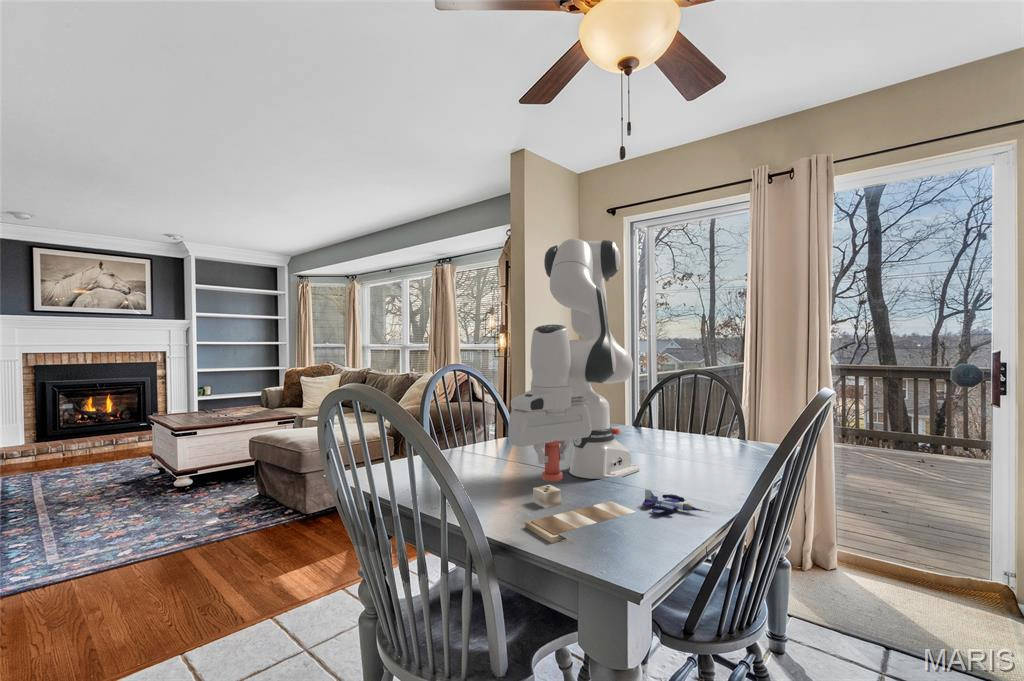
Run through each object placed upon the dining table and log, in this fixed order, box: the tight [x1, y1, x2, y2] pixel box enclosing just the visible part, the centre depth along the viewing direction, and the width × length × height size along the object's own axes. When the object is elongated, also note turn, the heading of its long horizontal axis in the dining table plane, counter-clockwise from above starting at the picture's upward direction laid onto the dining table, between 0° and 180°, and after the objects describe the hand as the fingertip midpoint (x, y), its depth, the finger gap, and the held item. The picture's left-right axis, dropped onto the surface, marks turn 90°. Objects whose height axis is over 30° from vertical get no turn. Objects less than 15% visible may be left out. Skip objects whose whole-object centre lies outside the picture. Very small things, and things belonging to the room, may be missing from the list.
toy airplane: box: [641, 489, 715, 515], centre depth 114 cm, size 13×14×4 cm
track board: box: [524, 500, 637, 544], centre depth 111 cm, size 26×10×1 cm, turn 121°
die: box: [532, 484, 562, 509], centre depth 120 cm, size 5×5×5 cm
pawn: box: [541, 440, 563, 482], centre depth 106 cm, size 4×4×10 cm
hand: (551, 462), depth 106 cm, fingers closed on pawn, 3 cm apart
